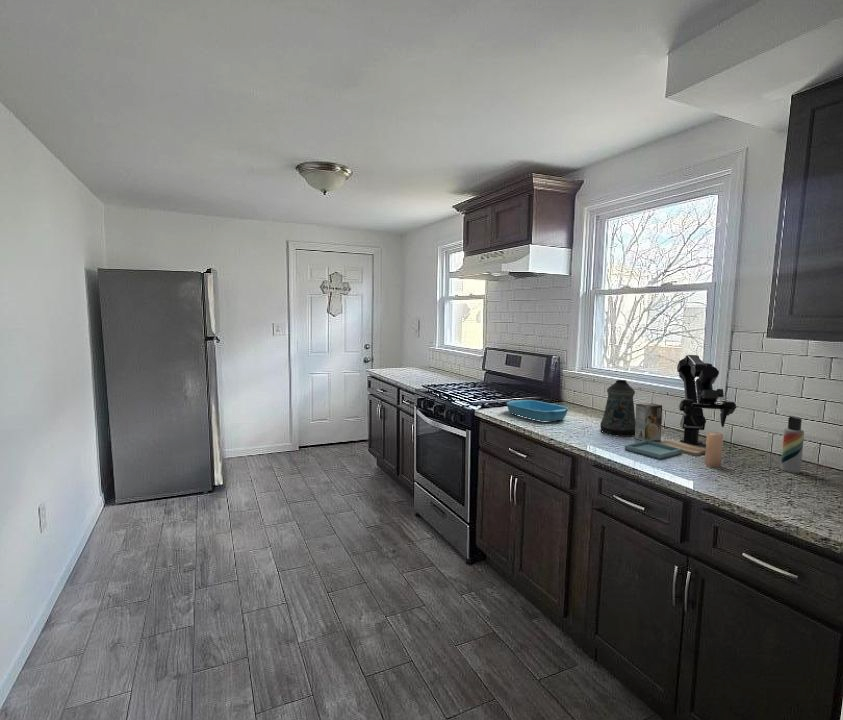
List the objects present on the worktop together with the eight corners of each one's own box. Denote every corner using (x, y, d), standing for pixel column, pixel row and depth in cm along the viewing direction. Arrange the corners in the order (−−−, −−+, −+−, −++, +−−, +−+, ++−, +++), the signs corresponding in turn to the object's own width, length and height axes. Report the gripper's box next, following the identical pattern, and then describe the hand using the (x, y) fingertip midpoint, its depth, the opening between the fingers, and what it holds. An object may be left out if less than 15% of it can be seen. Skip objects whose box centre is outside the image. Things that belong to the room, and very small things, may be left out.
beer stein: (602, 435, 219) (604, 382, 217) (597, 426, 238) (599, 377, 236) (640, 437, 216) (643, 383, 213) (632, 428, 234) (634, 378, 232)
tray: (646, 444, 203) (646, 440, 203) (681, 453, 191) (681, 448, 190) (624, 450, 195) (625, 445, 195) (659, 459, 183) (660, 454, 182)
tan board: (670, 442, 208) (670, 439, 207) (710, 452, 193) (710, 449, 193) (655, 446, 202) (655, 443, 202) (696, 456, 187) (696, 453, 187)
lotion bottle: (781, 467, 174) (785, 414, 172) (800, 470, 171) (805, 416, 169) (780, 471, 170) (784, 416, 168) (800, 474, 166) (805, 419, 164)
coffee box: (650, 436, 217) (652, 402, 216) (661, 440, 211) (663, 405, 210) (634, 438, 215) (635, 403, 213) (644, 441, 209) (646, 406, 207)
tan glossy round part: (709, 462, 180) (711, 431, 178) (723, 466, 175) (725, 434, 174) (702, 464, 177) (704, 433, 176) (716, 468, 172) (718, 436, 171)
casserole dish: (498, 413, 269) (499, 401, 268) (527, 409, 280) (528, 397, 280) (545, 426, 237) (546, 412, 237) (576, 421, 249) (576, 408, 248)
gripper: (683, 379, 186) (686, 415, 178) (737, 382, 180) (743, 418, 173) (677, 393, 195) (680, 427, 187) (729, 395, 189) (734, 431, 182)
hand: (709, 425), depth 182 cm, fingers open, 9 cm apart
